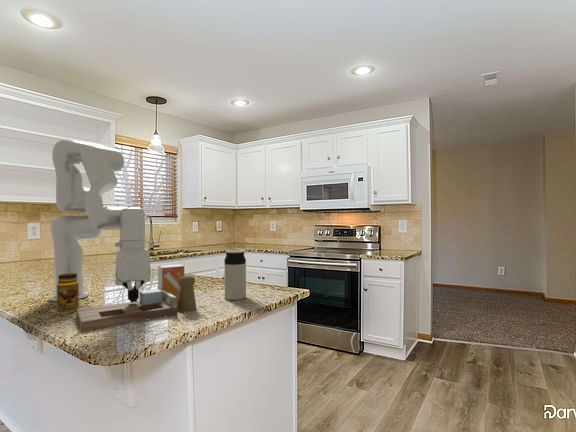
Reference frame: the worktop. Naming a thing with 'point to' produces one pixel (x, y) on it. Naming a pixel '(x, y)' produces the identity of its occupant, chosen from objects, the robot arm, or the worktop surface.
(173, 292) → the small box
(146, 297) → the block
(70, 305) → the condiment
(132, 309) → the board
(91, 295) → the worktop surface
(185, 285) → the pepper mill
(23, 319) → the worktop surface
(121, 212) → the robot arm
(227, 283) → the travel mug
